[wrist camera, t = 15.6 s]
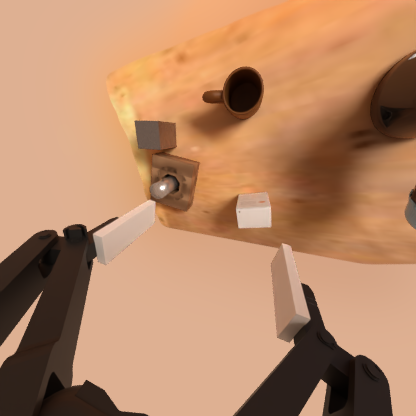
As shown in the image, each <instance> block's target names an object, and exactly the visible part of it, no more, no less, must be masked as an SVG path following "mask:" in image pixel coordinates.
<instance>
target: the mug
mask: <svg viewBox="0 0 416 416" xmlns="http://www.w3.org/2000/svg"><path fill="white" fill-rule="evenodd" d="M263 93H264V86H263V80H262V78H261V76H260V74H259V73H258V72H257V71H256V70H255V69H253V68H251V67H240V68H238V69H236V70H234V71H233V72H232V73H231V74H230V75H229V76H228V78H227V80H226V81H225V84H224V87H223V90H213V91H207V92H205V93H204V94H203V97H202V98H203V101H204V102H206V103H224V104H225V106H226V108H227V110H228V111H229V112H230V113H231V114H232V115H234V116H235V117H237V118H240V119H246V118H249V117H251V116H252V115H254V114H255V113H256V112H257V110H258V109H259V107H260V105H261V102H262V98H263Z"/></svg>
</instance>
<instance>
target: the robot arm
mask: <svg viewBox="0 0 416 416" xmlns="http://www.w3.org/2000/svg"><path fill="white" fill-rule="evenodd" d="M371 118H372V121H373V124H374V125H375V127H376V128H377V129H378V130H379V131H380V132H381V133H383V134H385V135H387V136H390V137H395V138H416V50H415V51H413V52H412V53H410V54H409V55H407V56H406V57H404V58H403V59H402V60H400V61H399V62H398V63H397V64H396V65H395V66H394V67H393V68H392V69H391V70H390V71H389V72H388V73H387V74H386V75H385V77H384V78H383V79H382V81H381V82H380V84H379V86H378V87H377V89H376V91H375V93H374V96H373V99H372V103H371ZM405 217H406V220H407V221H408V223H409V224H410V225H411V226H412V227H413V228H415V229H416V186H415V188H414V189H412V190H411V192H410V194H409V201H408V204H407V206H406V209H405ZM154 223H155V201H152V200H148V201H146V202H145V203H143V204H141V205H140V206H138V207H136V208H135V209H133V210H132V211H130V212H128V213H126V214H125V215H123V216H122V217H120V218H118V217H115V218H112V219H110V220H108V221H106V222H105V223H103V224H101V225H99V226H98V227H96V228H94V229H92V230H91V231H89V232H87V229H86V226H84V225H82V224H75V225H71V226H68V227H66V228H64V230H63V233H64V237H61V236H58V235H57V232H56V231H54V230H44V231H41V232H38V233H36V234H34V235H33V236H32V237H31V238H30V239H28V240H27V241H26V242H25V243H24V244H22V245H21V246H20V247H19V248H18V249H17V250H16V251H14V252H13V253H12V254H11V255H10V256H8V257H7V258H6V259H5V260H4V261H2V262H1V263H0V346H1V345H2V343H3V342H4V341H5V340H6V338H7V337H8V335H9V334H10V333H11V332H12V330H13V329H14V328H15V326H16V325H17V324H18V322H19V321H20V320H21V318H22V317H23V316H24V314H25V313H26V312H27V310H28V309H29V308H30V306H31V305H32V304H33V302H34V301H35V300H36V299H37V297H38V296H39V294H40V293H41V292H42V291H43V292H42V294H41V297H40V299H39V301H38V304H37V306H36V308H35V310H34V313H33V315H32V317H31V319H30V322H29V324H28V326H27V329H26V331H25V333H24V336H23V338H22V340H21V342H20V345H19V347H18V349H17V351H16V353H15V354H14V355H12V356H10V357H8V358H7V359H6V360H5V361H4V362H3V364H2V366H1V368H0V416H148V415H146V414H142V413H132V412H122V411H119V410H118V409H117V407H116V406H115V404H114V403H113V402H112V400H111V399H110V397H109V396H108V395H107V393H106V392H105V390H103V389H101V388H100V387H98V386H96V385H94V384H93V383H91V382H89V381H87V380H86V381H85V382H84V384H83V385H77V386H72V387H71V385H72V377H73V372H72V367H73V366H72V365H73V360H74V355H75V350H76V345H77V340H78V335H79V330H80V325H81V320H82V315H83V310H84V305H85V300H86V295H87V290H88V285H89V280H90V275H91V270H92V265H93V259H94V258H95V257H96V256H97V259H98V262H100V263H102V264H104V265H107V264H108V263H109V262H110V261H111V260H112V259H114V258H115V257H116V256H117V255H118V254H119V253H121V252H122V251H123V250H124V249H125V248H126V247H128V246H129V245H130V244H131V243H132V242H133V241H135V240H136V239H137V238H138V237H139V236H140V235H141V234H143V233H144V232H145V231H146V230H147V229H148V228H150V227H151V226H152V225H153V224H154ZM271 270H272V282H273V294H274V305H275V317H276V329H277V338H279V339H282V340H284V341H286V342H290V341H291V340H292V339H293V338H294V344H295V346H294V347H293V348H292V349H291V350H290V351H289V352H288V354H287V355H286V356H285V357H284V358H283V360H282V361H281V362H280V363H279V364H278V365H277V366H276V367H275V369H274V370H273V371H272V372H271V373H270V374H269V375H268V377H267V378H266V379H265V380H264V381H263V382H262V384H261V385H260V386H259V387H258V388H257V389H256V390H255V391H254V393H253V394H252V395H251V396H250V397H249V398H248V399H247V401H246V402H245V403H244V404H243V405H242V406H241V407H240V408H239V410H238V411H237V412H236V413H235V414H234V415H233V416H298V415H299V414H300V412H301V411H302V409H303V407H304V406H305V404H306V402H307V401H308V399H309V397H310V396H311V394H312V392H313V391H314V389H315V388H316V386H317V384H318V383H319V381H320V379H322V380H323V381H324V382H326V383H327V389H326V396H325V402H324V409H323V416H393V414H392V405H391V397H390V389H389V383H388V380H387V378H386V376H385V375H384V373H383V372H382V370H381V369H380V368H379V367H378V366H377V365H376V364H375V363H374V362H373V361H372V360H370V359H369V358H367V357H366V356H363V355H357V356H356V357H353V356H352V355H350V354H349V353H348V352H346V351H345V350H344V349H342V348H341V347H339V346H338V345H337V343H336V341H335V339H334V337H333V336H332V335H331V334H330V333H329V332H328V331H327V330H326V329H325V326H324V323H323V320H322V317H321V315H320V311H319V309H318V307H317V302H316V301H315V296H314V293H313V292H312V290H311V289H310V287H309V286H308V285H305V284H302V283H301V282H300V279H299V275H298V271H297V267H296V264H295V260H294V256H293V252H292V249H291V246H290V245H287V244H284V243H282V244H281V246H280V248H279V250H278V252H277V254H276V256H275V258H274V260H273V261H272V263H271ZM43 289H44V290H43Z"/></svg>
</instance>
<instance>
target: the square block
mask: <svg viewBox="0 0 416 416" xmlns="http://www.w3.org/2000/svg"><path fill="white" fill-rule="evenodd" d="M135 127H136V134H137V141H138V148H140V149H156V150H162V149H168V148H173V147H177V146H176V125H175V123H169V122H161V121H135Z"/></svg>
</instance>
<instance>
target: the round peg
mask: <svg viewBox="0 0 416 416" xmlns="http://www.w3.org/2000/svg"><path fill="white" fill-rule="evenodd" d="M179 186H180V183H179V181H178V180H177V178H176V177H175V176H173V175H171V176H169V177H166V178H164V179H162V180H160V181H158V182H156V183H154V184H152V185H151V186H150V193H151V195H152V196H153V197H154V198H156V199H161V198H163V197H164V196H166V195H167V194H169V193H170V192H172V191H173V190H175V189H176V188H177V187H179Z"/></svg>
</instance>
